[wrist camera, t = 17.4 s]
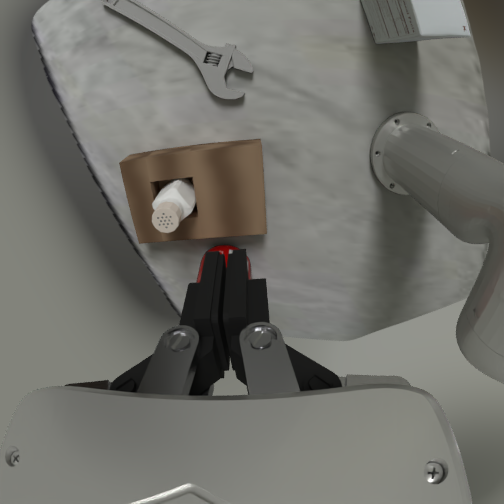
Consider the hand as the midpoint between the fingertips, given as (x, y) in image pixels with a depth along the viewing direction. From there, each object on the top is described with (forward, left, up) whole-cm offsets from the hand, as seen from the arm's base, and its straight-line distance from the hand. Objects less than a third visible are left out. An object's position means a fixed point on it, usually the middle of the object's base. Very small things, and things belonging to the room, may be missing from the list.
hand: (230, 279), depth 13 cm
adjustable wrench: (+7, -16, -30) cm, 35 cm away
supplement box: (-21, -18, -29) cm, 40 cm away
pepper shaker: (+9, +6, -29) cm, 31 cm away
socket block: (+6, +6, -29) cm, 30 cm away
